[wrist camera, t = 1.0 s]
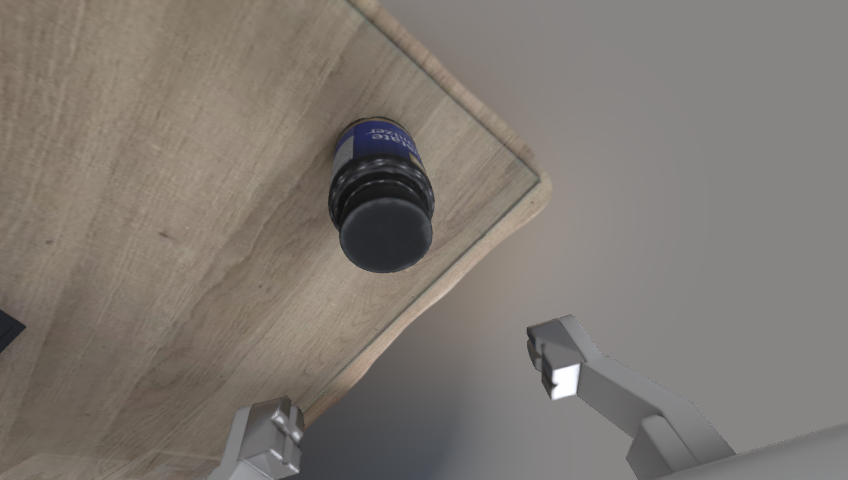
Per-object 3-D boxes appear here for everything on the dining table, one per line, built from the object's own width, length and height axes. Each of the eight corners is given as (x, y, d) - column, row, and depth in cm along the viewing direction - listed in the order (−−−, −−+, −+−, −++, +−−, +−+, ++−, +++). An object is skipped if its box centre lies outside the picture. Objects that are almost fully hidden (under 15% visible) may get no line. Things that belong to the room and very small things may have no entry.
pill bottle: (430, 141, 25) (471, 217, 17) (390, 202, 28) (407, 297, 19) (357, 96, 23) (361, 160, 14) (320, 169, 25) (303, 261, 16)
